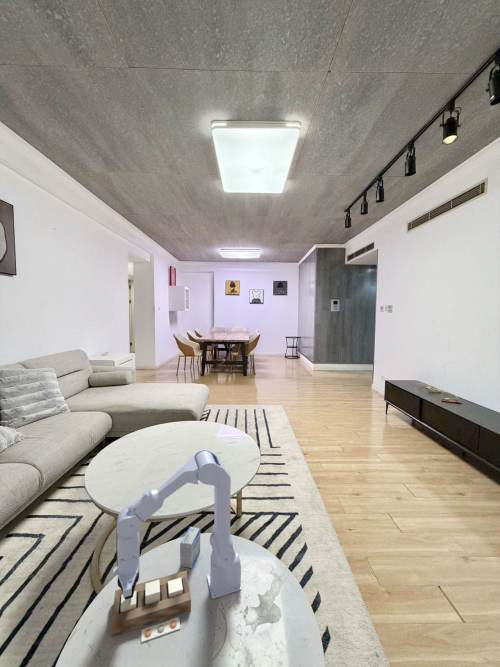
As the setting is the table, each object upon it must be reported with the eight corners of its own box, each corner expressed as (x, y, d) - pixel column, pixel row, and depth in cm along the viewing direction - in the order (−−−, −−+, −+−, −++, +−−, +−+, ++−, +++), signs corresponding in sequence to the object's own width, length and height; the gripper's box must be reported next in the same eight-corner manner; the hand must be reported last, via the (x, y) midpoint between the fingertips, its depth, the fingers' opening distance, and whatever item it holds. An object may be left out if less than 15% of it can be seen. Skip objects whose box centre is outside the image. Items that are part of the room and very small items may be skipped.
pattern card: (179, 618, 81) (179, 616, 81) (180, 629, 78) (180, 627, 78) (141, 630, 77) (141, 629, 77) (141, 642, 74) (141, 641, 74)
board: (186, 580, 92) (186, 570, 92) (190, 610, 83) (191, 599, 83) (115, 601, 85) (115, 590, 85) (111, 637, 76) (111, 625, 75)
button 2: (181, 587, 89) (181, 577, 88) (182, 599, 85) (182, 589, 85) (167, 591, 87) (167, 581, 87) (168, 603, 84) (168, 593, 83)
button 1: (136, 600, 84) (136, 590, 84) (136, 614, 80) (136, 603, 80) (121, 605, 83) (121, 594, 83) (120, 618, 79) (120, 608, 79)
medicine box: (191, 569, 96) (192, 545, 96) (179, 566, 97) (179, 542, 97) (200, 550, 104) (200, 527, 103) (189, 548, 105) (189, 525, 104)
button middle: (159, 589, 86) (159, 579, 86) (160, 601, 83) (160, 591, 82) (145, 593, 85) (145, 583, 85) (145, 606, 81) (145, 596, 81)
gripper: (115, 536, 86) (116, 578, 87) (109, 578, 72) (110, 627, 73) (140, 530, 88) (140, 571, 89) (139, 570, 75) (139, 618, 76)
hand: (128, 596), depth 81 cm, fingers closed
